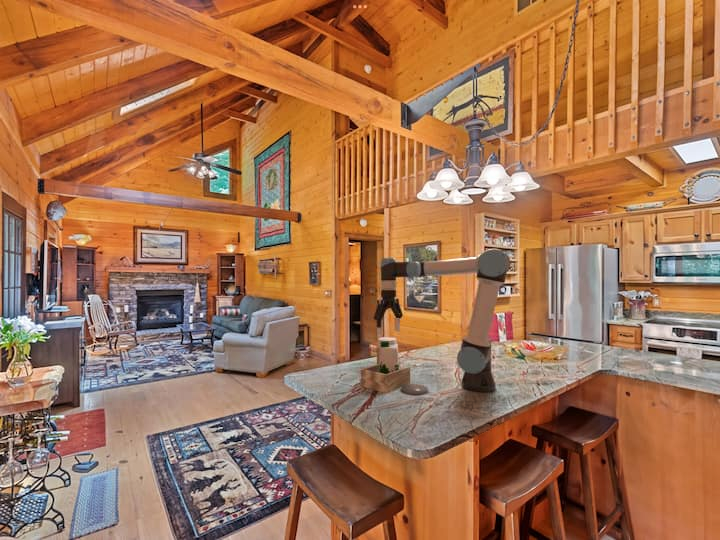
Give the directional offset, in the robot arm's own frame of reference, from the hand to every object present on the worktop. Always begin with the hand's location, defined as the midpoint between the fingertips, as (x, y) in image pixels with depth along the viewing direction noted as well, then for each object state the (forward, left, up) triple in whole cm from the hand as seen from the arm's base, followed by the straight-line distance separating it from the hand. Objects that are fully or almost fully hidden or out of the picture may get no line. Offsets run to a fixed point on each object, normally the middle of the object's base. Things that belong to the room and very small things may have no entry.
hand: (388, 332), depth 171 cm
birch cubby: (-1, +3, -25) cm, 25 cm away
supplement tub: (+16, -20, -25) cm, 36 cm away
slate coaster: (-16, +2, -25) cm, 29 cm away
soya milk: (-1, +1, -25) cm, 25 cm away
